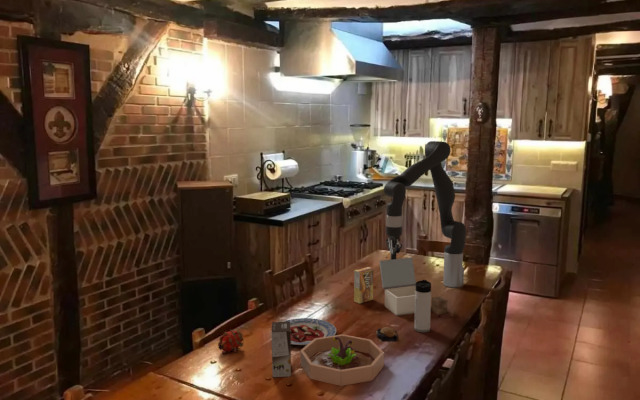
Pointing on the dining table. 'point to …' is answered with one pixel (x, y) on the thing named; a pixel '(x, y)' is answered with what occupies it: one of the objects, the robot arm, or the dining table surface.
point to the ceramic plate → (309, 330)
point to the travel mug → (422, 306)
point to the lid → (397, 273)
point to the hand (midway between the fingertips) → (393, 261)
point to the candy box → (363, 285)
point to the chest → (400, 300)
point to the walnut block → (439, 305)
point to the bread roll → (387, 334)
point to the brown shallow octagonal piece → (347, 374)
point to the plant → (342, 357)
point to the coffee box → (281, 349)
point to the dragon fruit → (230, 341)
